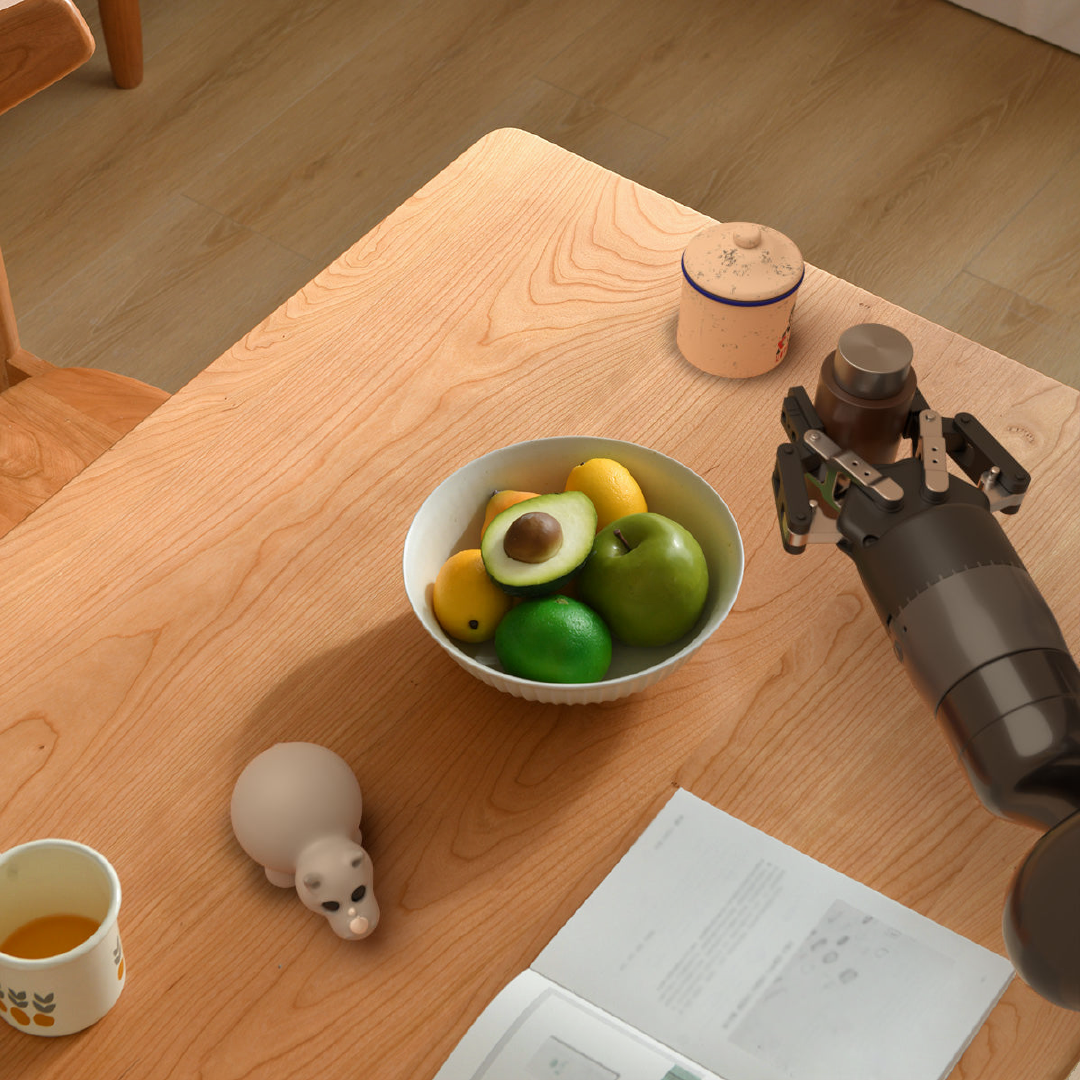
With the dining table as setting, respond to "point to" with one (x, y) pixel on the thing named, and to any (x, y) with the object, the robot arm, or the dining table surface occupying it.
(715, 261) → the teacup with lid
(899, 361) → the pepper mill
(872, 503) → the robot arm
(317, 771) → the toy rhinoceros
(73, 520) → the dining table surface
